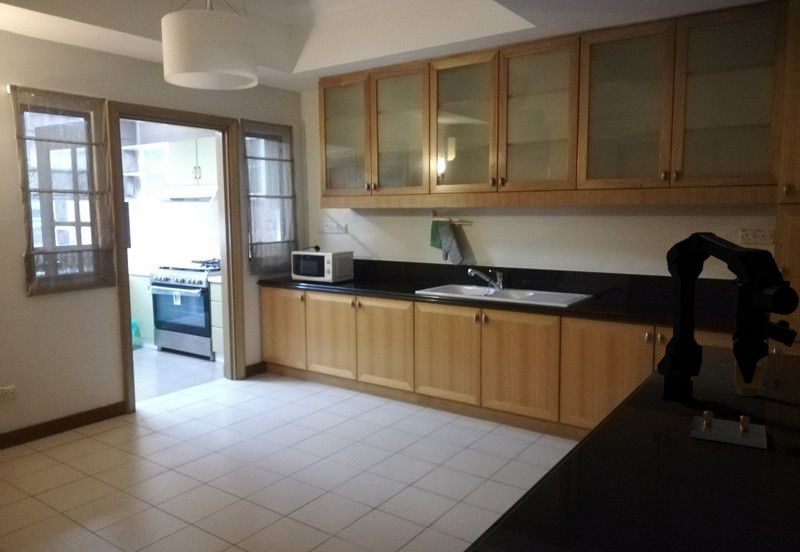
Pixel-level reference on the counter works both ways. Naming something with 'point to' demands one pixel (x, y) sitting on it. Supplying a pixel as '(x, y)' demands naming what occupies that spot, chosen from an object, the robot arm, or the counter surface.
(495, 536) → the counter surface
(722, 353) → the counter surface
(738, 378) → the tan cardboard box
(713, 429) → the plate
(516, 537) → the counter surface
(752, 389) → the sprinkles bottle
